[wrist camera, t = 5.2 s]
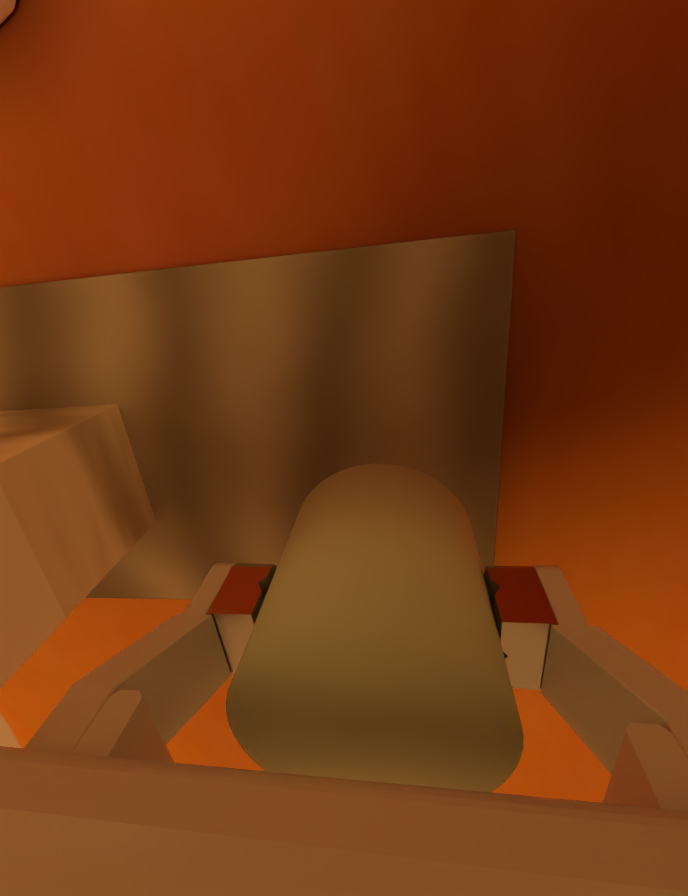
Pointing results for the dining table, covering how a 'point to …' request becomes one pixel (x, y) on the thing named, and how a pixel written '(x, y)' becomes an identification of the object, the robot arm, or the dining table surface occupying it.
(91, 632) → the dining table surface
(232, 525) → the walnut board
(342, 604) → the green cylinder
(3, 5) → the white cup
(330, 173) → the dining table surface
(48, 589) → the tower top block
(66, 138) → the dining table surface
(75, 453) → the tower base block
